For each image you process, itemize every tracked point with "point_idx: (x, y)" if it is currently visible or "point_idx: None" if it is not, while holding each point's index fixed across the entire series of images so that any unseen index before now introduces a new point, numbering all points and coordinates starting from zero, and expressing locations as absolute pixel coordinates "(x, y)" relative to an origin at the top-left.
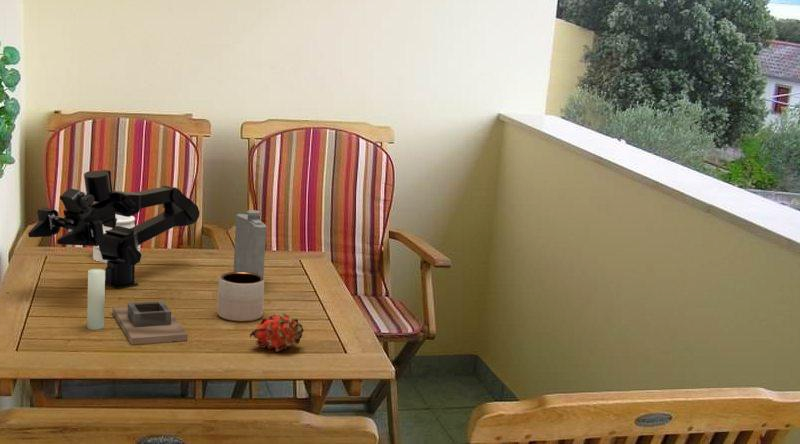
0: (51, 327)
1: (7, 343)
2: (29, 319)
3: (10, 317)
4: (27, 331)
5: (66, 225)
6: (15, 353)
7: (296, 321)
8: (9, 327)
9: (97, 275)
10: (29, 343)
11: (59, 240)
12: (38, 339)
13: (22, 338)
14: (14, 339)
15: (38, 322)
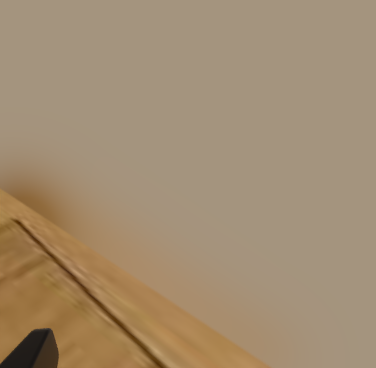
0: None
1: (55, 227)
2: (131, 348)
3: (183, 321)
4: (67, 287)
5: None
6: (9, 212)
7: None
8: (123, 277)
9: None
10: (14, 250)
11: (26, 342)
12: (9, 273)
13: (47, 257)
14: (58, 245)
15: (90, 349)
